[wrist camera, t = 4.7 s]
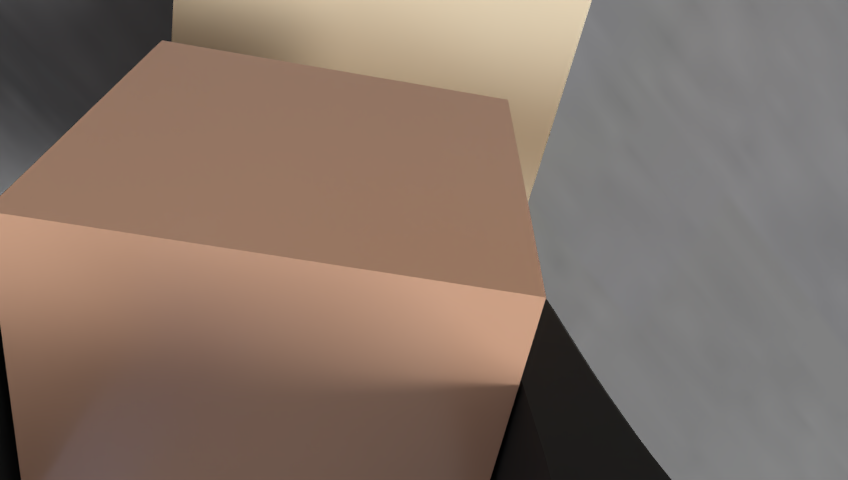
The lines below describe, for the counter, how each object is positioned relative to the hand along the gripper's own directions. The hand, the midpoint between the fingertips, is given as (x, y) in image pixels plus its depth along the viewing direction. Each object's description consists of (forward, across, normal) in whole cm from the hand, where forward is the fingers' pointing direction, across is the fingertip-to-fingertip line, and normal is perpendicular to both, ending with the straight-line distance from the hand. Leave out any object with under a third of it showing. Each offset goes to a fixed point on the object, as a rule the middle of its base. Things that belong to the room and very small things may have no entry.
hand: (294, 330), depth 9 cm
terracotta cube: (+2, 0, 0) cm, 2 cm away
